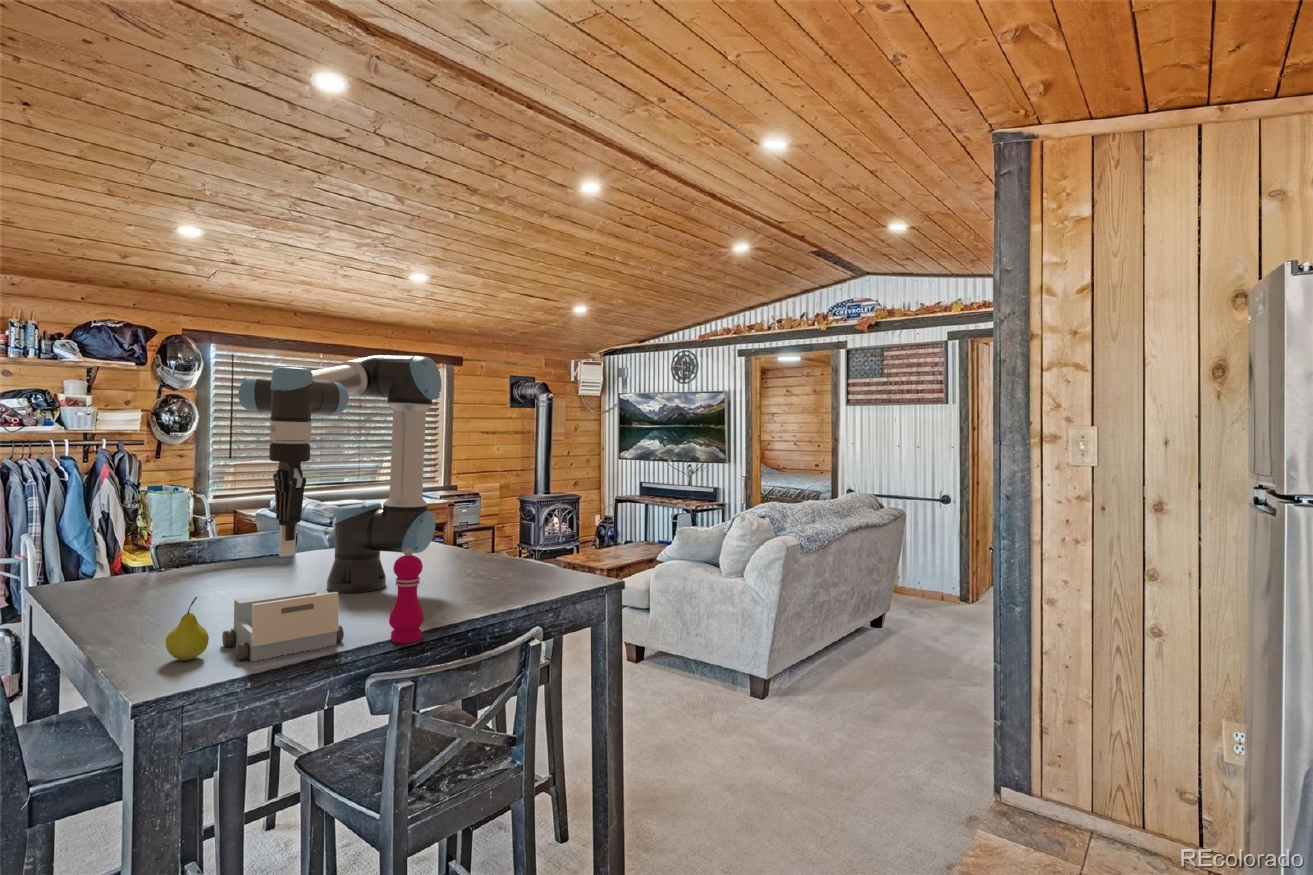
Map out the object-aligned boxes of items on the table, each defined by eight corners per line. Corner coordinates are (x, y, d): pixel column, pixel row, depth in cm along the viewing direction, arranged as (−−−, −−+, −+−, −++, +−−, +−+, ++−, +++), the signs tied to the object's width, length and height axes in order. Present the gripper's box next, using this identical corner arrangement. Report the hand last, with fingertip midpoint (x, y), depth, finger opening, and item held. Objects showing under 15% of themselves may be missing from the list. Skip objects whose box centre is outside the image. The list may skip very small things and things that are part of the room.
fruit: (175, 668, 131) (176, 605, 131) (158, 660, 135) (159, 599, 135) (214, 658, 137) (215, 598, 137) (197, 651, 141) (198, 592, 141)
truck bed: (220, 643, 146) (221, 601, 145) (319, 626, 159) (320, 587, 159) (241, 664, 135) (242, 617, 135) (345, 643, 149) (346, 601, 148)
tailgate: (252, 645, 136) (251, 604, 136) (336, 629, 147) (336, 591, 147) (253, 646, 135) (253, 605, 135) (338, 630, 146) (338, 592, 147)
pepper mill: (394, 633, 156) (396, 544, 156) (427, 634, 157) (429, 545, 156) (384, 644, 149) (386, 551, 148) (418, 644, 150) (421, 552, 149)
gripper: (260, 440, 147) (257, 552, 147) (280, 443, 137) (277, 562, 138) (299, 440, 152) (295, 548, 152) (320, 443, 143) (317, 558, 143)
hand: (287, 555), depth 145 cm, fingers closed
